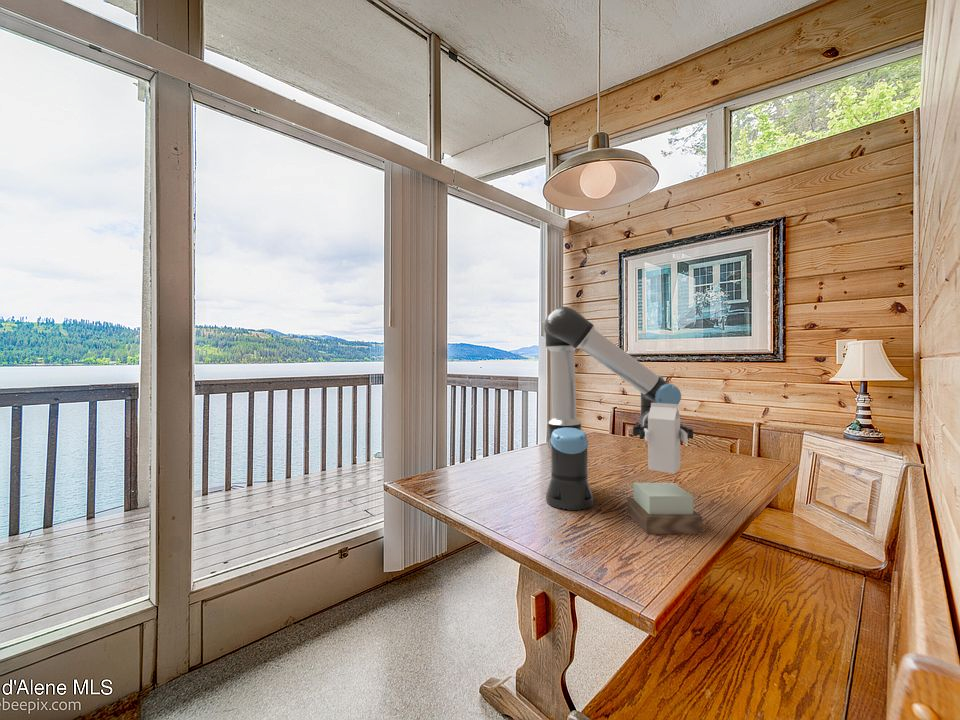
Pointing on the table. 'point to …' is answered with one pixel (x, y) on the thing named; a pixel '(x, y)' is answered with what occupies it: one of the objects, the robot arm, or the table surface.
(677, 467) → the milk carton
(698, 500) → the table surface
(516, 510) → the table surface
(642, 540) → the table surface
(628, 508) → the tower base
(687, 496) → the tower top
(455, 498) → the table surface
